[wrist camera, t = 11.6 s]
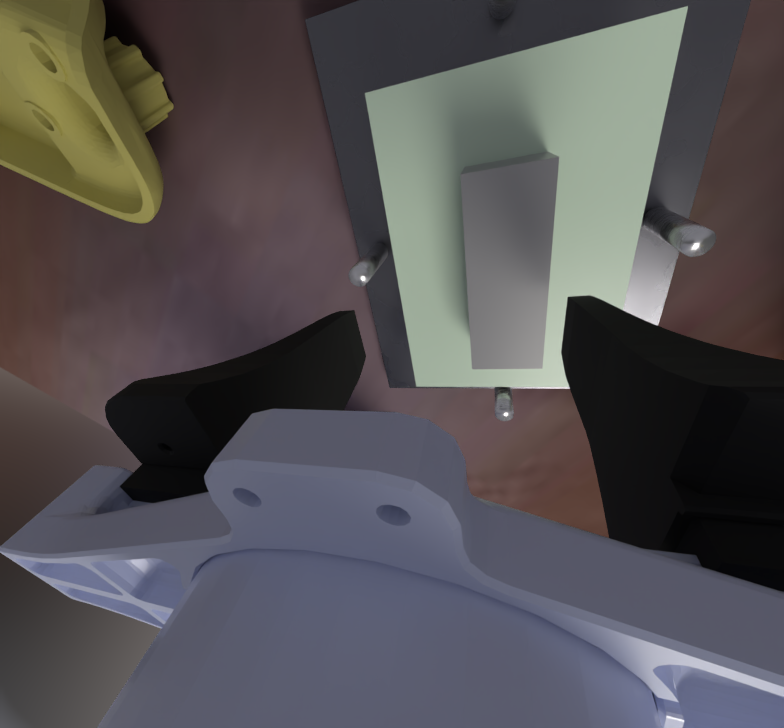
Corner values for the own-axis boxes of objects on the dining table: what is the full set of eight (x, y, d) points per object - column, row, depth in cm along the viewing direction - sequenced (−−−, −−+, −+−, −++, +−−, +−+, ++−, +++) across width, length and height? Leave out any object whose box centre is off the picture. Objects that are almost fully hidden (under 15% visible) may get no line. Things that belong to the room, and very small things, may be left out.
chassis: (634, 378, 21) (667, 437, 17) (392, 379, 26) (375, 425, 22) (772, -135, 10) (945, -294, 6) (314, 25, 15) (252, -11, 11)
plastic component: (-100, 118, 20) (-451, -204, 11) (10, 67, 23) (-194, -213, 14) (184, 250, 19) (47, 11, 10) (259, 178, 22) (205, -51, 13)
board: (602, 377, 18) (621, 421, 15) (418, 378, 21) (408, 415, 18) (675, 13, 10) (739, -25, 8) (370, 94, 13) (341, 87, 11)
